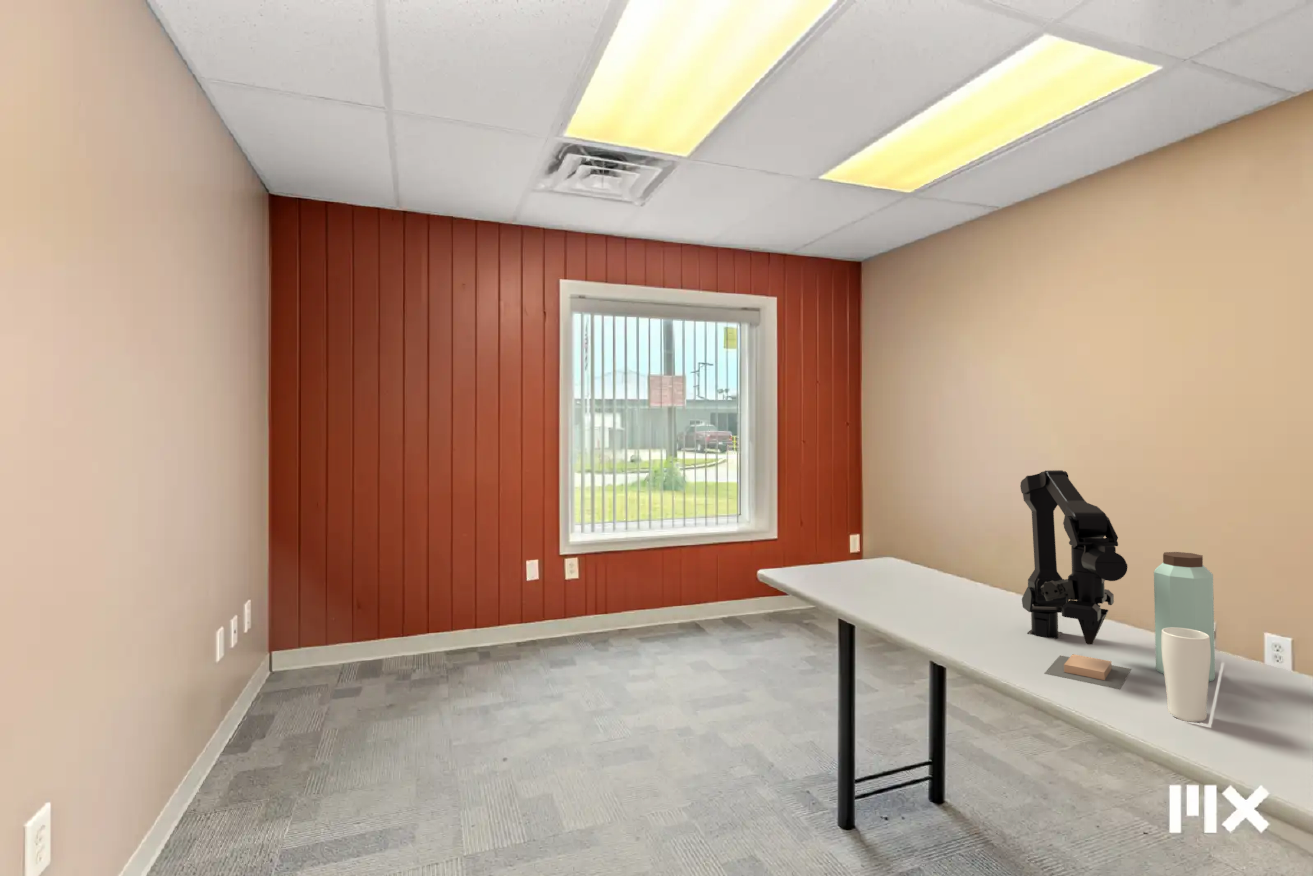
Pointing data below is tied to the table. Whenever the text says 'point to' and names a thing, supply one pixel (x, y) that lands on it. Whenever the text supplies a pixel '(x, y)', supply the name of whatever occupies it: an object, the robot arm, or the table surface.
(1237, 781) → the table surface
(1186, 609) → the water bottle
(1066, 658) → the mat
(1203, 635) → the drinking glass
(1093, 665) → the tile
